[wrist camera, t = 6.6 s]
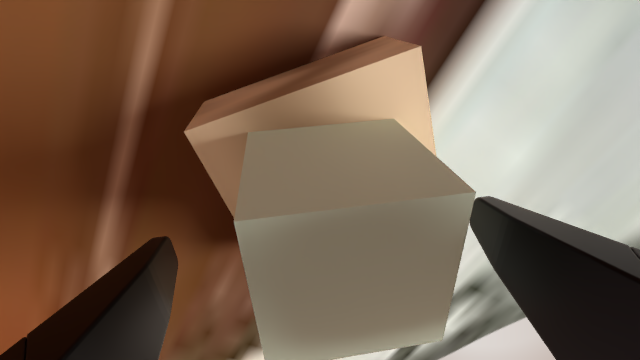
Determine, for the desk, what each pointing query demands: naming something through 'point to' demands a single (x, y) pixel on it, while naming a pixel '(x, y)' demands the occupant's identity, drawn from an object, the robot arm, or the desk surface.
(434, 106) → the desk surface
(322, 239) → the cube
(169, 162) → the desk surface
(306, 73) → the oak block
